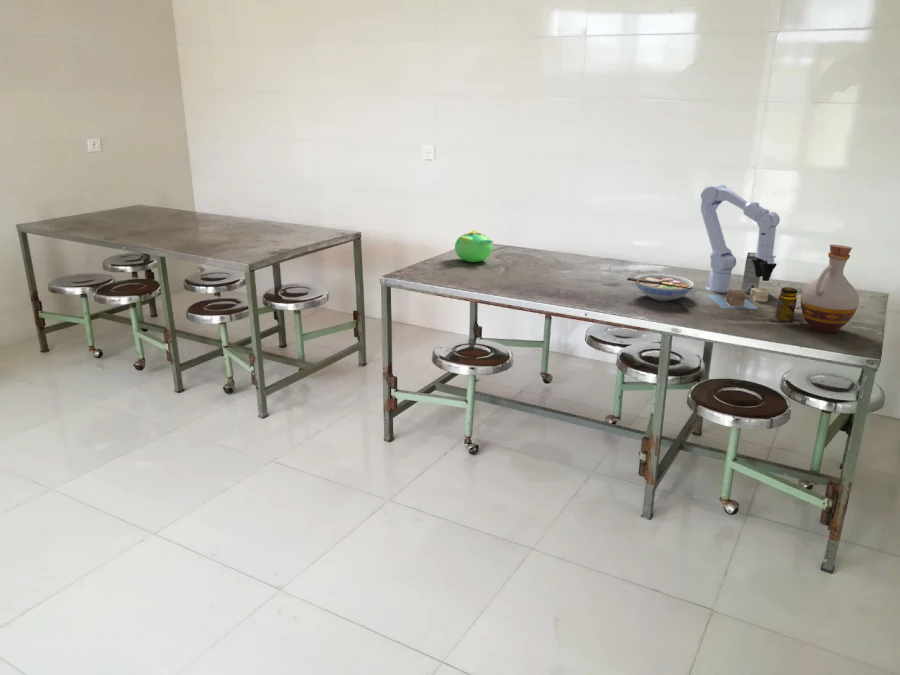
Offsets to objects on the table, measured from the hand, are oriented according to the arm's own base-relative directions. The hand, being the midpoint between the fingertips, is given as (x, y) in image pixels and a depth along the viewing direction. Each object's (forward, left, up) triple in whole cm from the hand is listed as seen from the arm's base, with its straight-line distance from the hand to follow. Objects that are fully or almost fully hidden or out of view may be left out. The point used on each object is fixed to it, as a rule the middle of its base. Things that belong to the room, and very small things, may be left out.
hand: (762, 278), depth 266 cm
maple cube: (-1, 0, -10) cm, 10 cm away
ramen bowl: (-2, -38, -10) cm, 39 cm away
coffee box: (-15, +2, -10) cm, 18 cm away
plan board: (+3, -12, -10) cm, 16 cm away
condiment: (+22, -1, -10) cm, 25 cm away
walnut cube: (+6, -12, -9) cm, 16 cm away
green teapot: (-58, -113, -10) cm, 127 cm away
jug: (+32, +9, -10) cm, 35 cm away
